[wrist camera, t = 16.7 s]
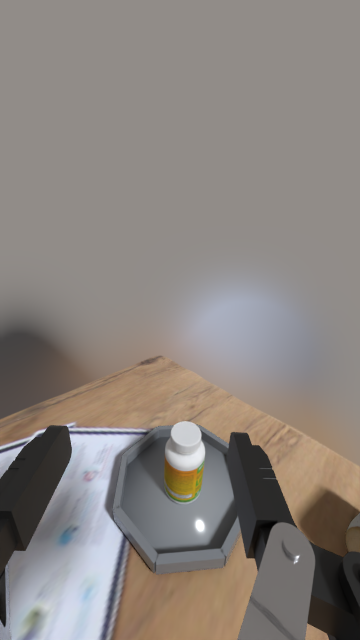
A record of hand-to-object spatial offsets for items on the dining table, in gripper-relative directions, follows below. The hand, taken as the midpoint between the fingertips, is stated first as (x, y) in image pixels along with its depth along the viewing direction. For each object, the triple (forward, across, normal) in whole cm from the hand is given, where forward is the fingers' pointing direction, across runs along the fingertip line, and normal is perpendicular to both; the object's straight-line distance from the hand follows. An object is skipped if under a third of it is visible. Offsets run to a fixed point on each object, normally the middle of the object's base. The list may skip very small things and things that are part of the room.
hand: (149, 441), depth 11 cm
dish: (+14, -3, +24) cm, 28 cm away
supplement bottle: (+13, -3, +24) cm, 28 cm away
